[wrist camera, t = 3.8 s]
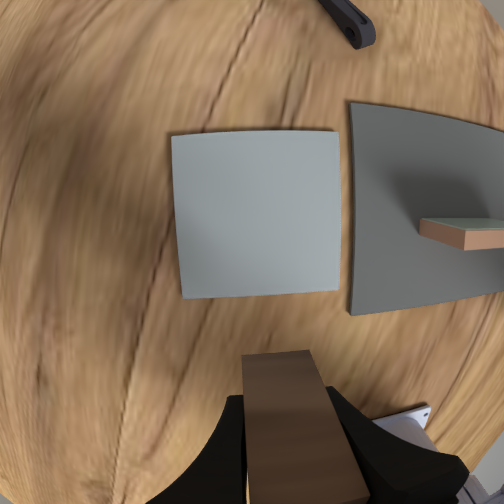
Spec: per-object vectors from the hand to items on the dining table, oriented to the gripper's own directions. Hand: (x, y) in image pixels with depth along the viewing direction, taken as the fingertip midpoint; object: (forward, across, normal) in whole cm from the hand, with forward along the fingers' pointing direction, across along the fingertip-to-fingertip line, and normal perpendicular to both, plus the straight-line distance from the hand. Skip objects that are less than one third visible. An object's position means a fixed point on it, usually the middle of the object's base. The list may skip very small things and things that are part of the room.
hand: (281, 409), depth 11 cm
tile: (+8, -15, -6) cm, 18 cm away
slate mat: (+9, -15, -7) cm, 19 cm away
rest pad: (+9, 0, -7) cm, 11 cm away
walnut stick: (+2, 0, 0) cm, 2 cm away
